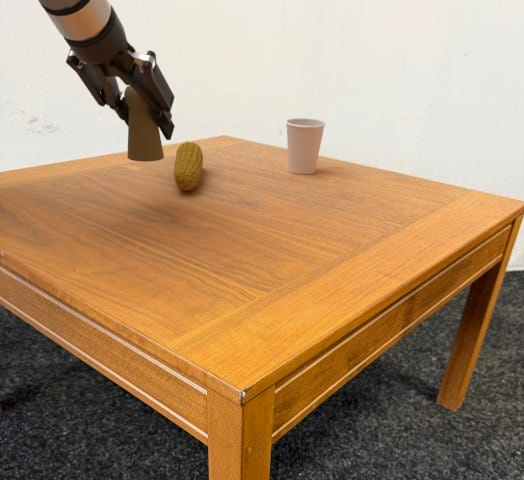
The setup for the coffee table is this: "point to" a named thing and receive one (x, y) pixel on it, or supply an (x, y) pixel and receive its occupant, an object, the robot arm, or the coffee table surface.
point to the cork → (142, 130)
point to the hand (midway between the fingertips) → (154, 131)
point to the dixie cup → (304, 144)
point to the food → (188, 165)
